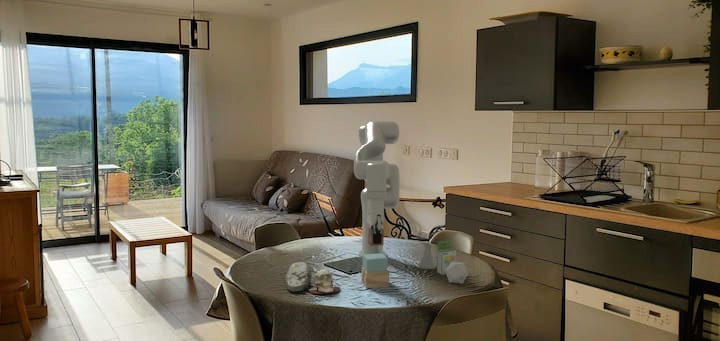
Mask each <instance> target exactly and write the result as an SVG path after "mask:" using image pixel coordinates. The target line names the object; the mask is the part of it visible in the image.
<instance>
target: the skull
mask: <svg viewBox="0 0 720 341" xmlns="http://www.w3.org/2000/svg"><path fill="white" fill-rule="evenodd" d="M332 276H333V275H332V274H331V273H330V271H329V270H327V269H320V270H318V271H317V272H316V273H315V274H314V277H313V281H314V287H316V288H317V290H311V291H310V292H309V293H311V294H317V295H319V294H320V295H327V294H335V293H338V292H340V291H341V288H340V287H339V286H337V285H336V286H334V283H333V282H334V278H333V277H332ZM333 286H334V287H333Z"/></svg>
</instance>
